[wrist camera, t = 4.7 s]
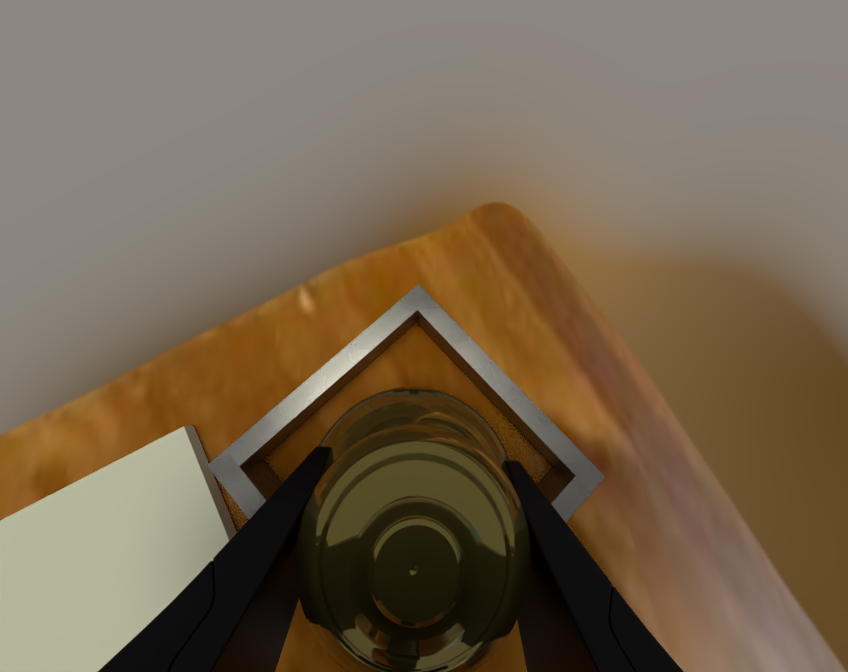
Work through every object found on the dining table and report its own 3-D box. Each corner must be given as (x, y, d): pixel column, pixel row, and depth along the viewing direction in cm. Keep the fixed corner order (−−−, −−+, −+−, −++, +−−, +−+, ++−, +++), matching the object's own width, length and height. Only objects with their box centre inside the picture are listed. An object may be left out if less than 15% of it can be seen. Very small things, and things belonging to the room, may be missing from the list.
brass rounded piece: (335, 574, 14) (188, 904, 5) (326, 402, 16) (205, 384, 6) (500, 550, 15) (671, 799, 5) (475, 385, 17) (572, 345, 7)
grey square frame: (578, 467, 18) (605, 476, 16) (402, 668, 16) (400, 715, 13) (417, 299, 20) (418, 284, 17) (234, 457, 17) (206, 465, 15)
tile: (193, 425, 18) (183, 426, 17) (261, 593, 16) (254, 602, 15) (-75, 564, 16) (-101, 572, 15) (-27, 769, 14) (-53, 790, 13)
